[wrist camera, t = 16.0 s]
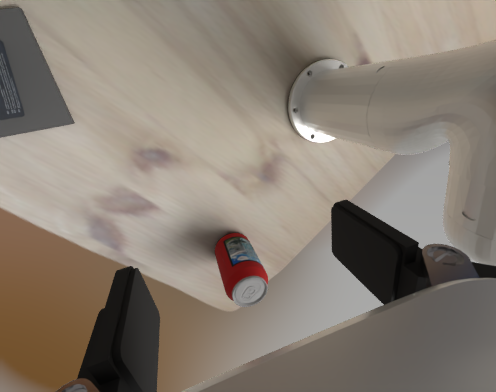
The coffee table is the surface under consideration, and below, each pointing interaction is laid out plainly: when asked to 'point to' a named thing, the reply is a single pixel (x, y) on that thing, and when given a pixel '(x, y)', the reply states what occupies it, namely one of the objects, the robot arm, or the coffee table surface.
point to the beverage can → (241, 270)
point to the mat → (30, 79)
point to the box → (8, 90)
